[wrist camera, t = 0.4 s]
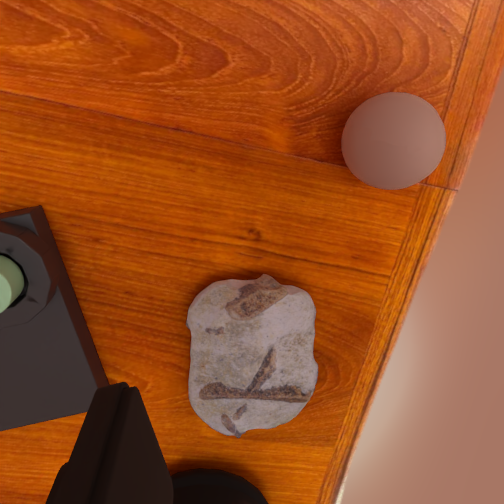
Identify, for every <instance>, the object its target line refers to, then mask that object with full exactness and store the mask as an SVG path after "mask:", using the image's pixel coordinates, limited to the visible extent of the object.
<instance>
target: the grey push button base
mask: <svg viewBox="0 0 504 504" xmlns="http://www.w3.org/2000/svg"><path fill="white" fill-rule="evenodd" d="M0 255H2V256H5V257H7V258H9V259H11V260H12V261H13V262H15V263H16V264H17V265H18V267H19V268H20V269H21V271H22V274H23V277H24V287H23V290H22V292H21V294H20V295H19V296H18V297H17V298H16V299H15V300H14V301H13V302H12V303H11V304H10V305H9V306H8V307H7V309H6V310H4V311H3V312H1V313H0V431H3V430H8V429H12V428H17V427H21V426H26V425H30V424H35V423H39V422H44V421H48V420H53V419H57V418H61V417H66V416H70V415H75V414H79V413H84V412H88V410H89V407H90V404H91V402H92V399H93V397H94V394H95V392H96V390H97V389H98V388H100V387H104V386H108V385H109V383H108V381H107V378H106V376H105V373H104V370H103V368H102V365H101V362H100V360H99V357H98V354H97V352H96V349H95V346H94V344H93V341H92V338H91V336H90V333H89V330H88V328H87V325H86V322H85V320H84V317H83V314H82V312H81V309H80V307H79V304H78V301H77V299H76V296H75V293H74V291H73V288H72V285H71V283H70V280H69V277H68V275H67V272H66V269H65V267H64V264H63V261H62V259H61V256H60V253H59V251H58V248H57V245H56V243H55V240H54V237H53V235H52V232H51V230H50V227H49V224H48V222H47V219H46V216H45V214H44V211H43V208H42V206H41V205H39V206H34V207H30V208H25V209H20V210H15V211H10V212H5V213H1V214H0Z"/></svg>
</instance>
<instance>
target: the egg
mask: <svg viewBox="0 0 504 504" xmlns="http://www.w3.org/2000/svg"><path fill="white" fill-rule="evenodd" d="M341 145H342V154H343V157H344V160H345V163H346V165H347V166H348V168H349V169H350V171H351V172H352V173H353V174H354V175H355V176H356V177H357V178H358V179H359V180H361V181H362V182H364V183H366V184H367V185H370V186H373V187H375V188H380V189H387V190H392V189H402V188H406V187H409V186H411V185H414V184H416V183H418V182H420V181H421V180H423V179H424V178H426V177H427V176H428V175H430V174H431V173H432V172H433V171H434V170H435V168H436V167H437V166H438V164H439V162H440V161H441V158H442V156H443V154H444V150H445V146H446V133H445V128H444V124H443V122H442V120H441V118H440V116H439V115H438V113H437V111H436V110H435V109H434V108H433V106H432V105H431V104H429V103H428V102H426V101H425V100H424V99H422V98H420V97H418V96H415V95H412V94H409V93H401V92H387V93H383V94H379V95H376V96H374V97H372V98H370V99H367V100H366V101H365V102H363V103H362V104H360V105H359V106H358V107H357V108H356V109H355V110H354V111H353V112H352V114H351V115H350V117H349V119H348V120H347V122H346V124H345V127H344V130H343V133H342V139H341Z"/></svg>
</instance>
